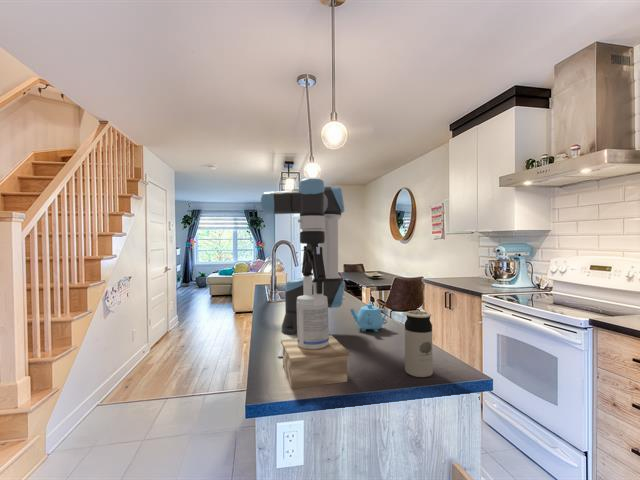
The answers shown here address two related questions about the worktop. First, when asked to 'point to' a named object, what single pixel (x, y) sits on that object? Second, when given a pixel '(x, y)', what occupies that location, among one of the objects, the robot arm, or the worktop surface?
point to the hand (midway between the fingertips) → (312, 300)
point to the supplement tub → (312, 323)
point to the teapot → (369, 317)
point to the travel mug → (418, 344)
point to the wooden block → (314, 363)
